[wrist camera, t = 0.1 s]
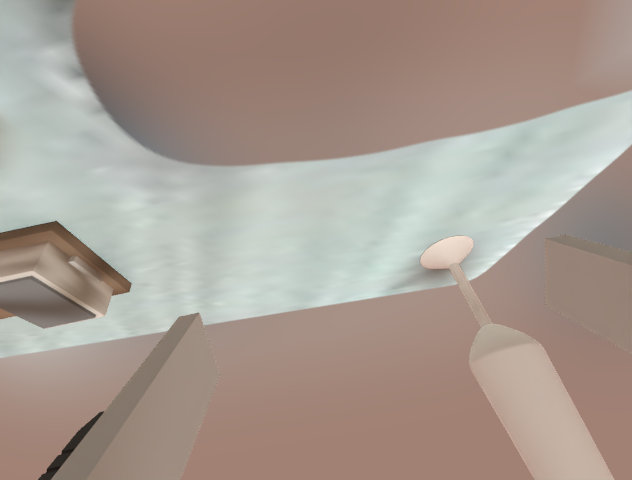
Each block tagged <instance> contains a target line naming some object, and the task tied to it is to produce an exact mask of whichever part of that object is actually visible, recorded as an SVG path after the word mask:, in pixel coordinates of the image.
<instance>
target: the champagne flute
mask: <svg viewBox="0 0 632 480" xmlns="http://www.w3.org/2000/svg"><path fill="white" fill-rule="evenodd" d="M473 245H474V242H473V240H472V239H471V238H470V237H467V236H453V237H449V238H445V239H443V240H440V241H439V242H437V243H435V244H433V245H432V246H430V247H429V248H428V249H427V250H426V251H425V252H424V253H423V255H422V256H421V259H420V262H421V265H422V266H423V267H425V268H428V269H450V271H451V273H452V275H453V276H454V278H455V280H456V282H457V284H458V286H459V287H460V289H461V291H462V293H463V295H464V297H465V298H466V300H467V302H468V304H469V306H470V308H471V310H472V311H473V313H474V315H475V317H476V319H477V320H478V322H479V324H480V326H481V329H480V330H479V332H478V333H477V335H476V338H475V340H474V343H473V345H472V347H471V351H470V356H469V364H470V368H471V371H472V372H473V374H474V376H475V377H476V379H477V381H478V383H479V384H480V386H481V388H482V390H483V391H484V393H485V395H486V396H487V398H488V400H489V402H490V404H491V405H492V407H493V409H494V410H495V412H496V414H497V416H498V417H499V419H500V421H501V423H502V424H503V426H504V428H505V429H506V431H507V433H508V434H509V436H510V438H511V440H512V442H513V443H514V445H515V447H516V448H517V450H518V452H519V454H520V455H521V457H522V459H523V461H524V462H525V464H526V465H527V467H528V469H529V471H530V473H531V474H532V476H533V478H534V480H614V478H613V476H612V474H611V473H610V471H609V469H608V467H607V465H606V463H605V461H604V460H603V458H602V456H601V454H600V452H599V450H598V448H597V446H596V445H595V443H594V441H593V439H592V437H591V435H590V433H589V432H588V430H587V428H586V426H585V424H584V422H583V420H582V419H581V417H580V415H579V413H578V411H577V409H576V407H575V406H574V404H573V402H572V400H571V398H570V396H569V395H568V393H567V391H566V389H565V387H564V385H563V383H562V381H561V380H560V378H559V376H558V374H557V372H556V370H555V368H554V367H553V365H552V363H551V361H550V359H549V357H548V356H547V354H546V352H545V350H544V348H543V346H542V345H541V344H540V343H539V342H538V341H536V340H535V339H533V338H532V337H530V336H528V335H526V334H524V333H522V332H520V331H517V330H514V329H511V328H508V327H506V326H503V325H498V324H493V323H492V321H491V320H490V318H489V316H488V315H487V313H486V311H485V310H484V308H483V306H482V304H481V302H480V301H479V299H478V297H477V296H476V294H475V292H474V290H473V288H472V287H471V285H470V283H469V281H468V280H467V278H466V276H465V275H464V273H463V271H462V269H461V268H460V266H459V263H460V262H461V261H462V260H463V259H464V258H465V257H466V256H467V255H468V254H469V253H470V252H471V250H472V248H473Z"/></svg>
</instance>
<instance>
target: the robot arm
mask: <svg viewBox="0 0 632 480" xmlns="http://www.w3.org/2000/svg"><path fill="white" fill-rule="evenodd" d="M545 305H547V306H548V307H550V308H552V309H554V310H555V311H557V312H559V313H560V314H562V315H564V316H566V317H568V318H569V319H571V320H573V321H574V322H576V323H578V324H580V325H581V326H583V327H585V328H587V329H588V330H590V331H592V332H593V333H595V334H597V335H599V336H600V337H602V338H604V339H606V340H607V341H609V342H611V343H613V344H614V345H616V346H618V347H619V348H621V349H623V350H625V351H626V352H628V353H630V354H632V252H629V251H625V250H622V249H618V248H614V247H610V246H607V245H603V244H599V243H595V242H592V241H588V240H584V239H580V238H577V237H573V236H569V235H560V236H556V237H551V238H546V239H545ZM219 376H220V372H219V369H218V366H217V363H216V360H215V358H214V354H213V351H212V349H211V346H210V343H209V340H208V337H207V334H206V331H205V328H204V325H203V322H202V319H201V316H200V314H199V313H195V314H190V315H186V316H181V317H179V318H178V319H177V320H176V321H175V323H174V324H173V325H172V326H171V328H170V329H169V330H168V332H167V333H166V334H165V335H164V337H163V338H162V339H161V341H160V342H159V343H158V344H157V346H156V347H155V348H154V349H153V351H152V352H151V353H150V354H149V356H148V357H147V358H146V359H145V361H144V362H143V363H142V365H141V366H140V367H139V368H138V370H137V371H136V372H135V374H134V375H133V376H132V377H131V379H130V380H129V381H128V382H127V384H126V385H125V386H124V387H123V389H122V390H121V391H120V393H119V394H118V395H117V396H116V398H115V399H114V400H113V401H112V403H111V404H110V405H109V407H108V408H107V409H106V410H105V411H104V412H100V413H99V414H98V415H96V416H95V417H94V418H93V419H92V420H91V421H90V422H88V423H87V424H86V425H85V426H84V427H82V428H81V429H80V430H79V431H78V432H77V433H76V435H75V436H74V437H73V438H72V439H71V441H70V442H69V443H68V444H67V445H66V447H65V448H64V449H63V450H62V454H61V455H58V456H57V457H56V459H55V460H54V461H53V462H52V464H51V465H50V466H49V467H48V468H47V472H46V473H45V474H43V475H42V476H41V477H40V478H39V479H38V480H181V477H182V474H183V472H184V469H185V466H186V464H187V461H188V458H189V456H190V453H191V450H192V448H193V445H194V443H195V440H196V437H197V435H198V432H199V429H200V427H201V424H202V421H203V419H204V416H205V413H206V411H207V408H208V405H209V403H210V400H211V398H212V395H213V392H214V390H215V387H216V384H217V382H218V379H219Z"/></svg>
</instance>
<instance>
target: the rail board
mask: <svg viewBox="0 0 632 480" xmlns="http://www.w3.org/2000/svg"><path fill="white" fill-rule="evenodd" d="M130 288H131V283H130V282H129V281H127V280H126V279H125V278H124V277H123V276H121V275H120V274H119V273H118V272H117V271H115V270H114V269H113V268H112V267H111V266H109V265H108V264H107V263H106V262H105V261H103V260H102V259H101V258H100V257H99V256H97V255H96V254H95V253H94V252H93V251H91V250H90V249H89V248H88V247H87V246H85V245H84V244H83V243H82V242H81V241H79V240H78V239H77V238H76V237H75V236H73V235H72V234H71V233H70V232H69V231H67V230H66V229H65V228H64V227H63V226H61V225H60V224H59V223H58V222H57V221H56V222H51V223H46V224H41V225H37V226H32V227H27V228H23V229H18V230H13V231H8V232H4V233H0V319H4V318H8V317H13V316H18V317H20V318H22V319H24V320H26V321H29V322H31V323H33V324H35V325H37V326H39V327H41V328H43V329H46V328H50V327H55V326H60V325H65V324H69V323H74V322H79V321H84V320H88V319H93V318H98V317H103V316H105V314H106V311H107V308H108V305H109V302H110V299H111V296H113V295H118V294H122V293H127V292H129V291H130Z"/></svg>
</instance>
